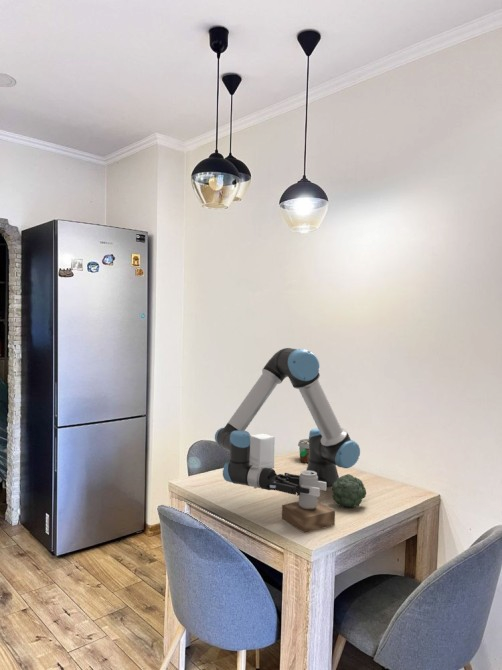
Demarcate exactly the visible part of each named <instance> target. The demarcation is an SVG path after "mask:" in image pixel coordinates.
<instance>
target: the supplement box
mask: <svg viewBox="0 0 502 670" xmlns="http://www.w3.org/2000/svg"><path fill="white" fill-rule="evenodd" d="M275 438H276V437H275V436H272V435H269V434H266V433H257V434H250V442H251V443H250V465H253V466H260V467H264V468H270V469H274V468H275V444H276V443H275V440H276V439H275Z"/></svg>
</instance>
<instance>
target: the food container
mask: <svg viewBox="0 0 502 670" xmlns="http://www.w3.org/2000/svg"><path fill="white" fill-rule="evenodd" d="M297 446H298V447H299V449H298V450H299V461H300V463H302V464H305V463H307V464H306V465H308V463H309V438H303V439H299V441H298V443H297Z"/></svg>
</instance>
